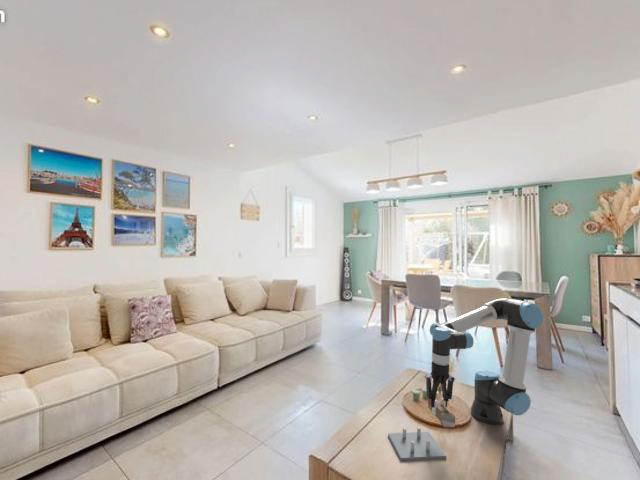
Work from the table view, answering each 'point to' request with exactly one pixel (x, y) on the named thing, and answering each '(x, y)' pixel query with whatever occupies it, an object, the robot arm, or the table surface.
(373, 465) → the table surface
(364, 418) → the table surface
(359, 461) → the table surface
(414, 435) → the slate peg board
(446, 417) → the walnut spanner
